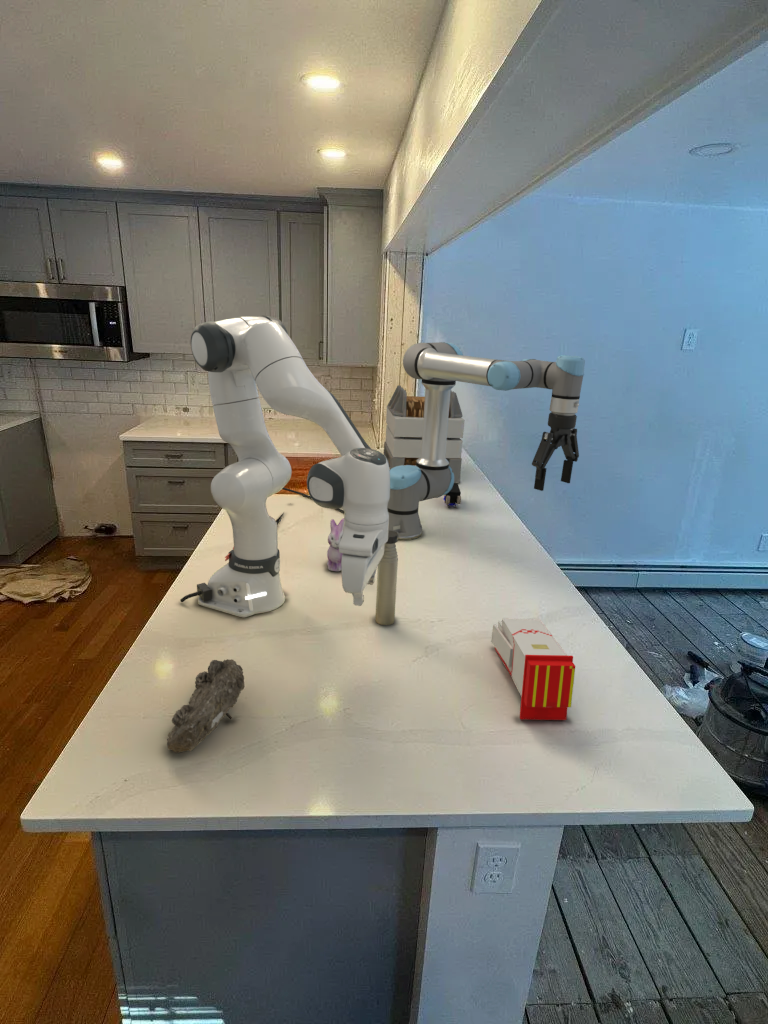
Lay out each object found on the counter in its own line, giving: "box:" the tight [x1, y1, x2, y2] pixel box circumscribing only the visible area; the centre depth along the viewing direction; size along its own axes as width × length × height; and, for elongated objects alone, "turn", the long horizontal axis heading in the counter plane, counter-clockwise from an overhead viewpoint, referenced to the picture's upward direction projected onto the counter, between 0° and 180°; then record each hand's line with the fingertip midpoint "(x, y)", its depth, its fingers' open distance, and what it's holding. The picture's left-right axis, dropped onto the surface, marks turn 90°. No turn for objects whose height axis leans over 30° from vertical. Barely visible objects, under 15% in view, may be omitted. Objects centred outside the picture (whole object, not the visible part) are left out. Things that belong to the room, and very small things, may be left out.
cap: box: [386, 530, 399, 544], centre depth 136 cm, size 4×4×2 cm
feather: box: [275, 503, 291, 525], centre depth 211 cm, size 2×28×2 cm
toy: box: [490, 617, 576, 721], centre depth 122 cm, size 12×13×30 cm
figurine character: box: [442, 483, 462, 509], centre depth 232 cm, size 7×8×15 cm
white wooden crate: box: [383, 384, 465, 484], centre depth 268 cm, size 34×33×41 cm
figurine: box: [326, 517, 344, 572], centre depth 171 cm, size 9×10×15 cm
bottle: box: [374, 543, 399, 626], centre depth 140 cm, size 5×5×24 cm
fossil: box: [166, 658, 245, 754], centre depth 106 cm, size 22×10×15 cm
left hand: (364, 593), depth 117 cm, fingers open, 8 cm apart
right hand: (552, 485), depth 166 cm, fingers open, 13 cm apart
